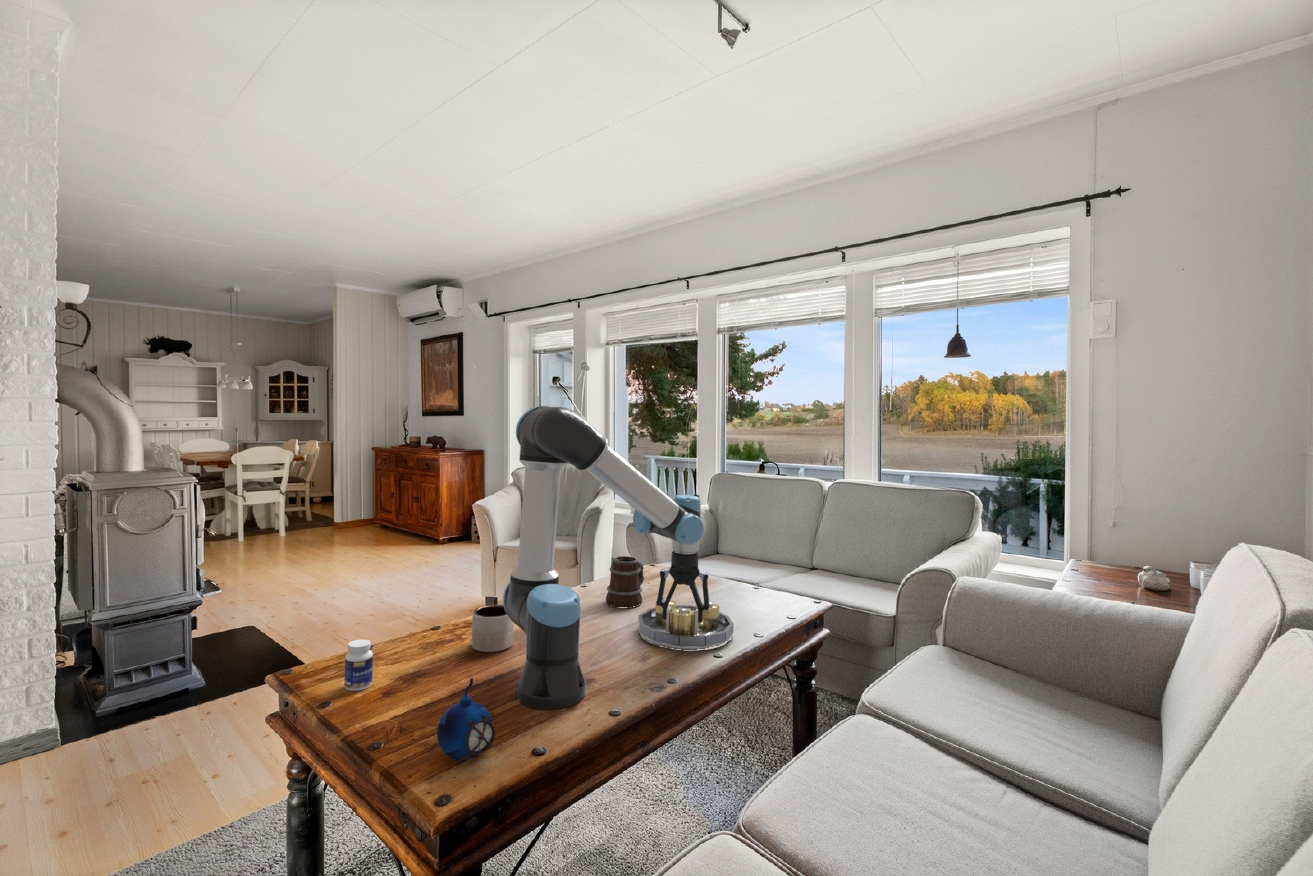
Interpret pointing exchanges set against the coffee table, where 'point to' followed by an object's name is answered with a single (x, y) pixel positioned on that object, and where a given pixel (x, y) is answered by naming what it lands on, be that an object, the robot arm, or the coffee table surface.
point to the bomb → (465, 729)
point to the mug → (625, 582)
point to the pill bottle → (358, 665)
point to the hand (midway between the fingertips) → (682, 632)
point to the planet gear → (682, 622)
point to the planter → (491, 629)
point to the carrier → (710, 634)
